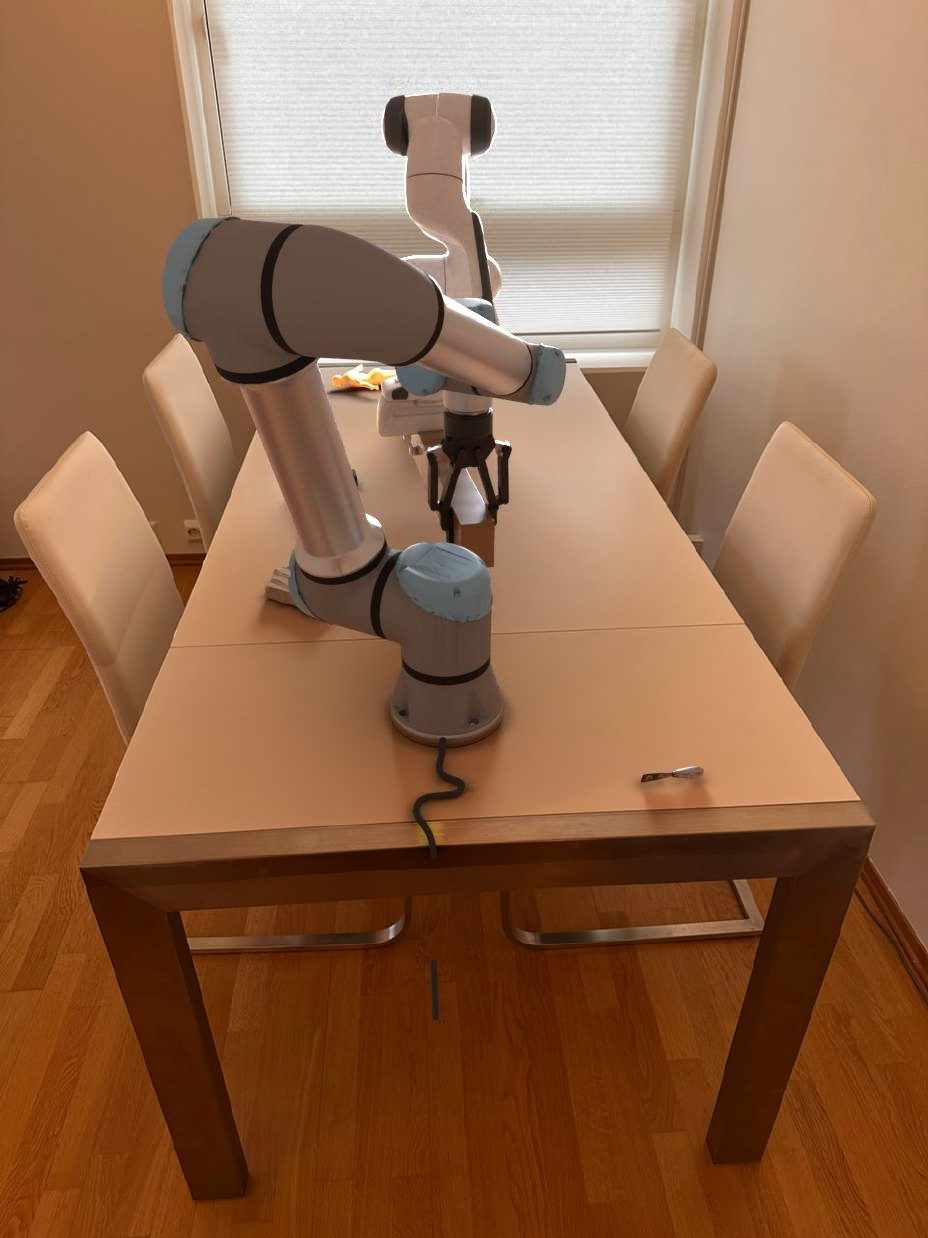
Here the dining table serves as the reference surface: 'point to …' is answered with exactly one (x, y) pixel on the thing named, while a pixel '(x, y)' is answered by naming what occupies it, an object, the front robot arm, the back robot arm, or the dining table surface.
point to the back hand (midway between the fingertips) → (430, 453)
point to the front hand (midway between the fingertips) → (468, 544)
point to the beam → (460, 501)
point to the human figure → (363, 378)
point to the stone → (279, 586)
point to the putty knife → (674, 774)
